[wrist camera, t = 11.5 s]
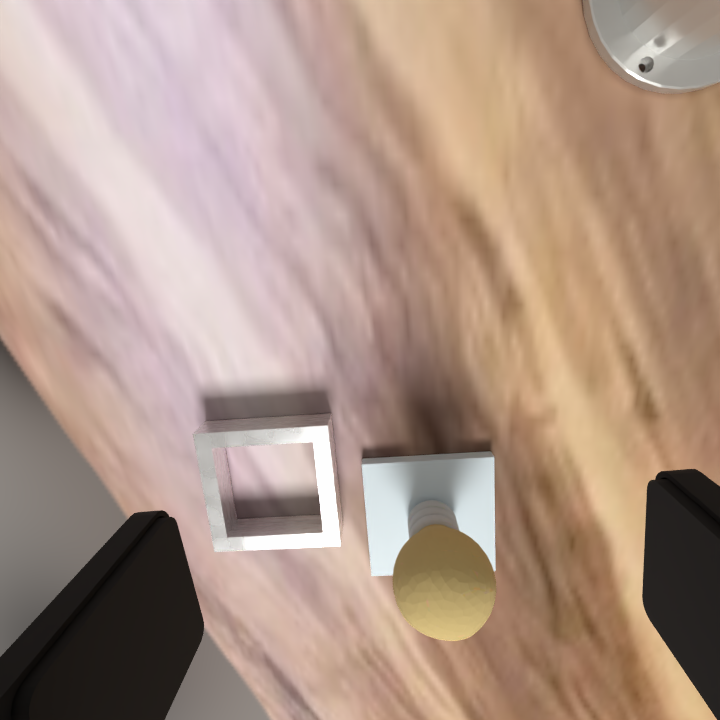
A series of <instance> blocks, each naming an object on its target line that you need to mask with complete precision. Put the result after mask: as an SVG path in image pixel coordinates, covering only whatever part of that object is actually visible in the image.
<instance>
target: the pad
mask: <svg viewBox="0 0 720 720" xmlns="http://www.w3.org/2000/svg"><path fill="white" fill-rule="evenodd" d="M362 474H363V486H364V497H365V508H366V519H367V530H368V542H369V553H370V564H371V575H372V576H386V575H393V569H394V565H395V561H396V558H397V556H398V554H399V552H400V550H401V548H402V547H403V545H404V544H405V543H406V542H407V541H408V540H409V533H408V517H409V514H410V512H411V510H412V509H413V508H414V507H415V506H416V505H418V504H419V503H421V502H424V501H429V500H436V501H440V502H442V503H445V504H446V505H448V506H449V507H450V508H451V509H452V511H453V512H454V514H455V516H456V520H457V523H458V527H459V530H460V532H463V533H465V534H466V535H468V536H469V537H471V538H472V539H473V540H474V541H475V542H477V543H478V544H479V546H480V547H481V548H482V549H483V551H484V552H485V553H486V555H487V556H488V558H489V560H490V562H491V564H492V567H493V570H494V571H495V490H494V456H493V454H492V452H491V451H486V452H468V453H451V454H433V455H416V456H399V457H381V458H364V459H362Z"/></svg>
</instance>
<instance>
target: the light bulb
mask: <svg viewBox="0 0 720 720" xmlns="http://www.w3.org/2000/svg"><path fill="white" fill-rule="evenodd" d="M408 533H409V540H408V541H407V542H406V543H405V544H404V545H403V547H402V548H401V550H400V552H399V554H398V556H397V558H396V561H395V565H394V569H393V590H394V595H395V598H396V602H397V605H398V607H399V609H400V611H401V613H402V615H403V617H404V618H405V620H406V621H407V622H408V623H409V624H410V625H411V626H412V627H413V628H415V629H416V630H418V631H419V632H421V633H423V634H425V635H427V636H429V637H432V638H435V639H440V640H446V641H458V640H463V639H467V638H469V637H470V636H472V635H473V634H475V633H476V632H477V631H478V630H479V629H480V628H481V627H482V626H483V624H484V623H485V622H486V621H487V619H488V617H489V615H490V614H491V611H492V609H493V606H494V602H495V596H496V579H495V574H494V570H493V567H492V564H491V562H490V560H489V558H488V556H487V555H486V553H485V552H484V551H483V549H482V548H481V547H480V546H479V544H478V543H477V542H475V541H474V540H473V539H472V538H471V537H469V536H468V535H466V534H465V533H463V532H460V530H459V527H458V523H457V520H456V516H455V514H454V512H453V511H452V509H451V508H450V507H449V506H448V505H446V504H445V503H442V502H440V501H436V500H429V501H424V502H421V503H419V504H418V505H416V506H415V507H414V508H413V509H412V510H411V512H410V514H409V517H408Z"/></svg>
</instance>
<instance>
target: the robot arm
mask: <svg viewBox="0 0 720 720" xmlns="http://www.w3.org/2000/svg"><path fill="white" fill-rule="evenodd" d="M583 11H584V18H585V21H586V25H587V28H588V32H589V35H590V38H591V40H592V42H593V44H594V46H595V48H596V50H597V51H598V53H599V55H600V56H601V58H602V59H603V60H604V61H605V62H606V64H607V65H608V66H609V67H610V69H611V70H612V71H614V72H615V73H616V74H617V75H619V76H620V77H621V78H623V79H624V80H625V81H626V82H629V83H631V84H633V85H635V86H637V87H639V88H641V89H644V90H648V91H653V92H657V93H671V94H682V93H687V92H692V91H696V90H701V89H704V88H706V87H709V86H711V85H714V84H716V83H719V82H720V0H583ZM639 67H640V68H641V71H640V70H639ZM642 597H643V604H644V608H645V611H646V613H647V616H648V618H649V619H650V621H651V623H652V624H653V626H654V627H655V628H656V630H657V631H658V633H659V634H660V636H661V637H662V639H663V640H664V642H665V643H666V645H667V646H668V648H669V649H670V651H671V652H672V654H673V655H674V657H675V658H676V659H677V661H678V662H679V664H680V665H681V667H682V668H683V670H684V671H685V673H686V674H687V676H688V677H689V679H690V680H691V682H692V683H693V685H694V686H695V688H696V689H697V690H698V692H699V693H700V695H701V696H702V698H703V699H704V701H705V702H706V704H707V705H708V707H709V708H710V710H711V711H712V713H713V714H714V716H715V717H716V718H717V720H720V486H718V485H717V484H716V483H714V482H713V481H712V480H710V479H709V478H708V477H706V476H705V475H704V474H702V473H701V472H700V471H698V470H696V469H686V470H673V471H661V472H659V473H658V474H657V476H656V479H655V480H651V481H649V483H648V486H647V504H646V526H645V549H644V572H643V594H642ZM203 631H204V622H203V617H202V613H201V610H200V606H199V602H198V599H197V595H196V591H195V588H194V584H193V580H192V577H191V573H190V569H189V566H188V562H187V558H186V554H185V551H184V547H183V543H182V540H181V536H180V532H179V529H178V525H177V522H176V520H175V519H174V518H173V517H169V515H168V514H167V513H166V512H165V511H149V512H138V513H134V514H133V515H132V516H130V518H129V519H128V520H127V521H126V522H125V523H124V524H123V525H122V526H121V527H120V528H119V529H118V531H117V532H116V533H115V534H114V535H113V536H112V537H111V538H110V539H109V540H108V541H107V543H105V545H104V546H103V547H102V548H101V549H100V550H99V551H98V552H97V553H96V554H95V555H94V556H93V558H92V559H91V560H90V561H89V562H88V563H87V564H86V565H85V566H84V567H83V568H82V569H81V571H80V572H79V573H78V574H77V575H76V576H75V577H74V578H73V579H72V580H71V581H70V583H68V585H67V586H66V587H65V588H64V589H63V590H62V591H61V592H60V593H59V594H58V595H57V597H56V598H55V599H54V600H53V601H52V602H51V603H50V604H49V605H48V606H47V607H46V609H45V610H44V611H43V612H42V613H41V614H40V615H39V616H38V617H37V618H36V619H35V620H34V621H33V622H32V623H31V625H30V626H29V627H28V628H27V629H26V630H25V631H24V632H23V633H22V634H21V636H19V638H18V639H17V640H16V641H15V642H14V643H13V644H12V645H11V646H10V647H9V648H8V649H7V650H6V652H5V653H4V654H3V655H2V656H1V657H0V720H165V718H166V715H167V713H168V711H169V709H170V707H171V705H172V702H173V700H174V698H175V696H176V694H177V692H178V690H179V688H180V685H181V683H182V681H183V679H184V677H185V675H186V673H187V670H188V668H189V666H190V664H191V662H192V660H193V657H194V655H195V653H196V651H197V649H198V647H199V644H200V642H201V640H202V636H203Z"/></svg>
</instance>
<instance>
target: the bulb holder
mask: <svg viewBox="0 0 720 720" xmlns="http://www.w3.org/2000/svg"><path fill="white" fill-rule="evenodd" d="M193 438H194V443H195V449H196V454H197V460H198V465H199V471H200V476H201V481H202V487H203V492H204V498H205V503H206V509H207V514H208V519H209V525H210V530H211V536H212V541H213V547H214V552H223V551H244V550H266V549H288V548H310V547H331V546H341V539H342V531H343V520H342V511H341V501H340V492H339V482H338V472H337V463H336V453H335V443H334V434H333V424H332V414H331V413H325V414H309V415H293V416H278V417H262V418H246V419H231V420H215V421H205V422H204V423H203V424H202V425H201V426H200V427H199V428H198V429H197V430H196V431H195V432H194V433H193ZM306 442H313V447H314V456H315V464H316V473H317V481H318V490H319V499H320V507H321V515H301V516H281V517H261V518H241V519H237V515H236V509H235V503H234V497H233V491H232V485H231V479H230V473H229V467H228V461H227V455H226V449H225V447H239V446H256V445H272V444H289V443H306Z"/></svg>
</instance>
